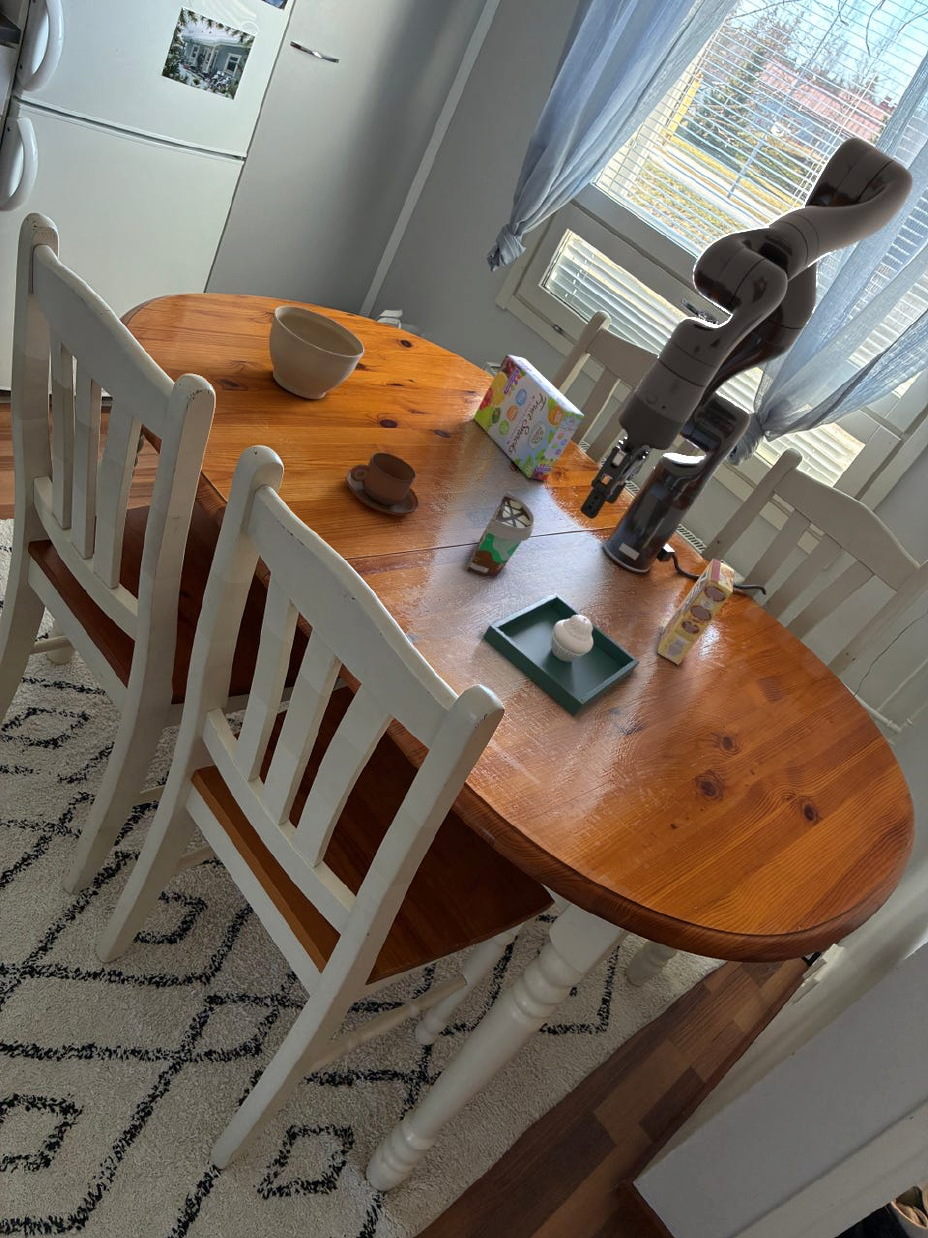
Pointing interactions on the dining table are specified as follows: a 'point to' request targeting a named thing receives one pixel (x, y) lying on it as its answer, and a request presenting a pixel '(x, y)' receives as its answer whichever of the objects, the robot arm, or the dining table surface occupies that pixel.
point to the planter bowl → (311, 351)
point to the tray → (530, 652)
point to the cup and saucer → (384, 484)
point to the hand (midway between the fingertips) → (597, 507)
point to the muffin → (572, 638)
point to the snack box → (527, 417)
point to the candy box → (696, 611)
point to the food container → (502, 536)
